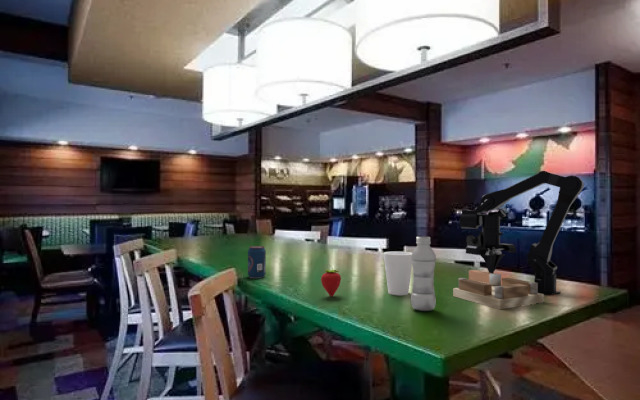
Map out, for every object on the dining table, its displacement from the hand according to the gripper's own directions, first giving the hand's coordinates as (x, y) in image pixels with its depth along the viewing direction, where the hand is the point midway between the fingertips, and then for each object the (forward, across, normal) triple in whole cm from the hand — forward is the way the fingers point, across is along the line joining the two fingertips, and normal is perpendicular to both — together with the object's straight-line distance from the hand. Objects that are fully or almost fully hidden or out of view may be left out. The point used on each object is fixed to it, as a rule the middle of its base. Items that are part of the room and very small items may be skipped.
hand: (491, 273), depth 148 cm
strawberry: (+5, +58, -10) cm, 59 cm away
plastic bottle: (+5, +43, +16) cm, 46 cm away
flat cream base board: (+4, +14, +15) cm, 21 cm away
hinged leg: (+2, +7, +4) cm, 8 cm away
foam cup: (+5, +36, -5) cm, 37 cm away
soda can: (+5, +69, -53) cm, 87 cm away
